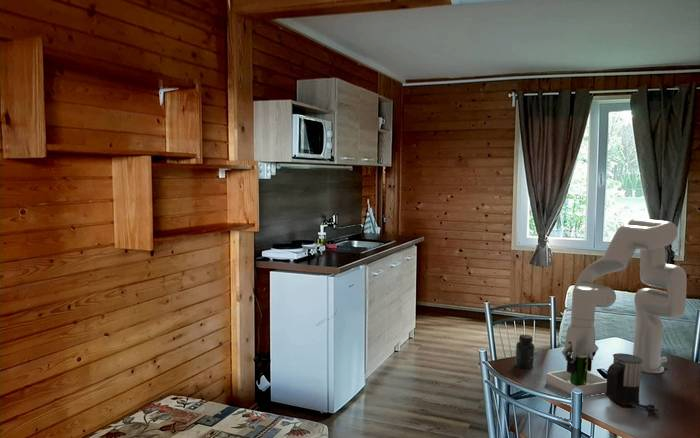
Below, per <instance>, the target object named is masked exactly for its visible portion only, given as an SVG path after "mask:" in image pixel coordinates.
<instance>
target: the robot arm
mask: <svg viewBox="0 0 700 438" xmlns="http://www.w3.org/2000/svg"><path fill="white" fill-rule="evenodd" d="M677 238H678V228H677V225H676V224H674V222H672V221H667V220H660V219H659V220H658V219H652V218H651V219H649V218H633V219H631V220H629V221H628V223H627V224H624V225H620V227H618V228H617V230H616V232H615V233H614V235H613V237H612V239H611V241H610V243H609V245H608V246H607V248H606V251H605V253H604V255H602V256H601V258H598V259H596V260H595V261H594V262H592V263H590V264H589V265H588V266H586V267H585V268H584V269H583V270H582V271H581V272H580V274H579V275H578V278H577V279H576V282H575V283H574V286H573V289H572V295H571V297H572V299H571V310H570V315H571V316H570V324H569V325H568V326H567V331H566V334H565V335H566V336H565V342H564V347H563V350H562V351H561V355H563V357H564V359H565V361H566V370H567V372H569V373H571V374H575V363H574V361H575V359H576V357H577V356H578V355H582V354H588V370H587V371H589V372H591V371H592V363H593V362H592V361H593V360H594V357H595V355H596V353H597V351H598V350H599V346H597V344H596V330H595V319H596V318H595V312H596V308H603V309H604V308H609V307H611V306H613V305H614V303H615V302H616V299H617V294H616V292H615V291H614V289H613V288H611V287H609V286H606V285H601V284H597V283H594V281H596V279H598V278H600V277H601V276H604V275H607V274H612V273H615V272H620V271H621V272H622V271H623V270H625V269H627V267H628V265H629V263H630V261H631V260H632V257H633V256H634V253H635V252H636V250H639V251H640V253H639V255H640V257H639V279H640V282H641V283H643V284H644V285H647V286H650V287H654V288H650V287H644V288H643V287H642V288H640V289H638V290H637V291H636V292H635V294H634V309H635V327H634V335H633V339H634V340H633V347H632V348H633V349H632V355H634V356H637V357H640V358H641V359H642V360H643V362H642V365H641V373H647V374H662V373H664V371H665V368H664V366H663V365H662V363H666V362H668V357H667V356H662V357H661V354H662V353H661V352H662V344H663V343H662V342H663V331H664V325H663V321H662V318H661V317H663V318H669V319H673V320H676V319H677V320H678V319H680V318H682V317H683V316H684V314H685V312H686V311H685V310H686V304H687V303H686V302H687V301H686V300H687V279H688V278H687V277H688V276H687V273H686V271H685V269H684V268H683V267H682V266H679V265H677V264H671V263H667V262H666V249H665V247H667V246H669V245H671V244H673V243H674V242H675V240H676V239H677ZM655 288H660V289H663V290H660V289H655ZM665 290H666V291H665ZM572 355H573V357H572Z"/></svg>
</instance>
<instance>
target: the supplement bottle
mask: <svg viewBox="0 0 700 438" xmlns="http://www.w3.org/2000/svg"><path fill="white" fill-rule="evenodd" d="M518 337H519V338H518V340H519V341H518V342H516V343H515V344H516V347H515V358H514V359H515V360H514V364H515V366H516V367H517V368H520V369H525V370H526V369H527V370H530V369H533V368H534V359H535V344H534V343H533V336H532V335H529V334H520V335H519V336H518Z"/></svg>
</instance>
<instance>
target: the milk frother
mask: <svg viewBox="0 0 700 438" xmlns="http://www.w3.org/2000/svg"><path fill="white" fill-rule="evenodd" d="M612 358H613V362H612V364H610V366H609V367H608V369H607V370H606V371H607V372H606V379H607V390H606V391H607V392H606V393H605V394H606V396H607V397H609V399H610V400H611V399H612V400H611V401H612V402H615V403H617V402H618V403H617V404H620V403H621V404H622V405H625V404H626V406H634V407H635V406H636V407H638V408H641V409H644V410H646V411H647V413H650V414H654V412H655V413H656V412H657V413H658V412H659V409H658V408H655V405H654V404H650V403H649V404H647V405H646V404H645V405H644V404H640V386H641V374H642V372H641V365H642V362H643V360H642V359H641V358H640V357H637V356H634V355H633V354H628V353H623V352H622V353H619V352H618V353H613V354H612ZM621 404H620V405H621Z"/></svg>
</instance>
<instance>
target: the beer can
mask: <svg viewBox="0 0 700 438" xmlns="http://www.w3.org/2000/svg"><path fill="white" fill-rule="evenodd" d="M572 357H573V355H571V358H572ZM574 363H575V374H571V376H570V383H571V384H573V385H575V386H582V385H586V384H587V370H588V354H582V355H578V356H577V357H576V359H575V361H574Z"/></svg>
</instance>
